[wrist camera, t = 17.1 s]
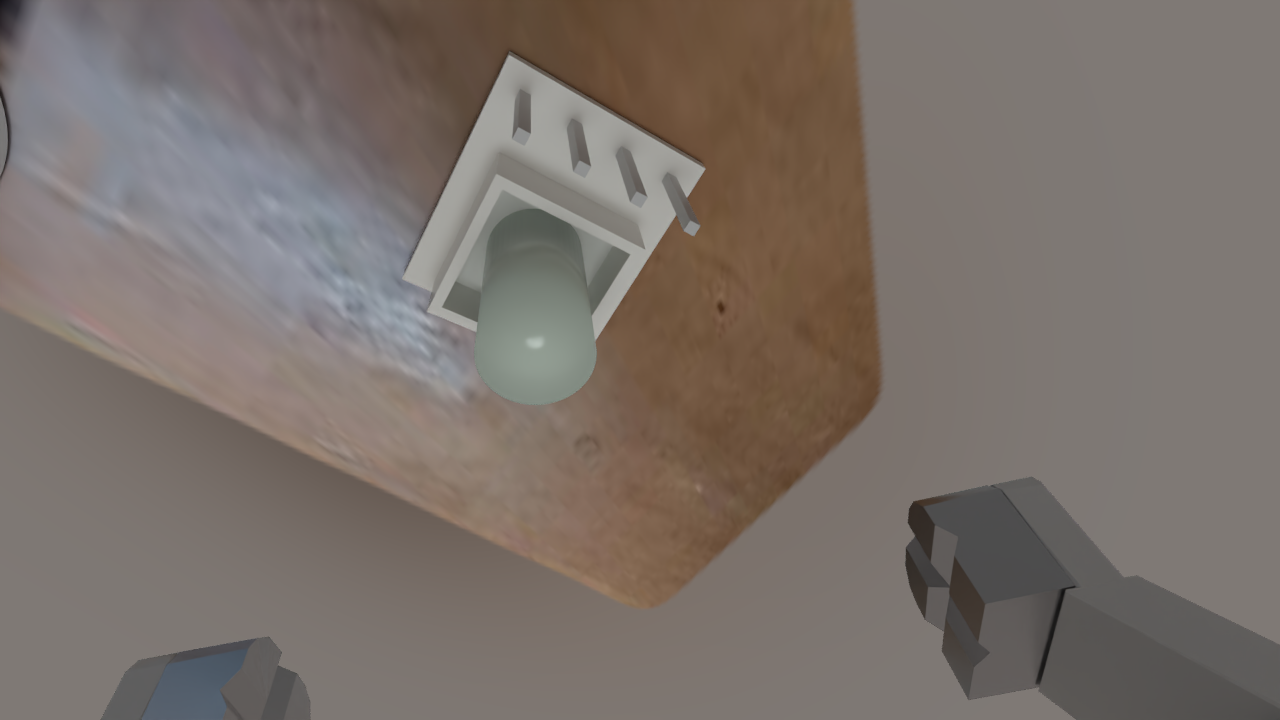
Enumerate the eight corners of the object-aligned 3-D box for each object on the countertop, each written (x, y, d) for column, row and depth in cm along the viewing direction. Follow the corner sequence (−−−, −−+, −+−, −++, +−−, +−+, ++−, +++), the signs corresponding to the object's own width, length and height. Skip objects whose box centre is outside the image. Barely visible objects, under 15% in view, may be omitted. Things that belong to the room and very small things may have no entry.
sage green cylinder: (500, 303, 44) (492, 414, 35) (474, 219, 41) (459, 316, 32) (590, 286, 44) (606, 392, 35) (571, 200, 41) (583, 291, 32)
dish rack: (583, 349, 47) (592, 425, 41) (404, 271, 43) (381, 342, 36) (702, 163, 42) (734, 216, 35) (509, 51, 37) (505, 87, 31)
